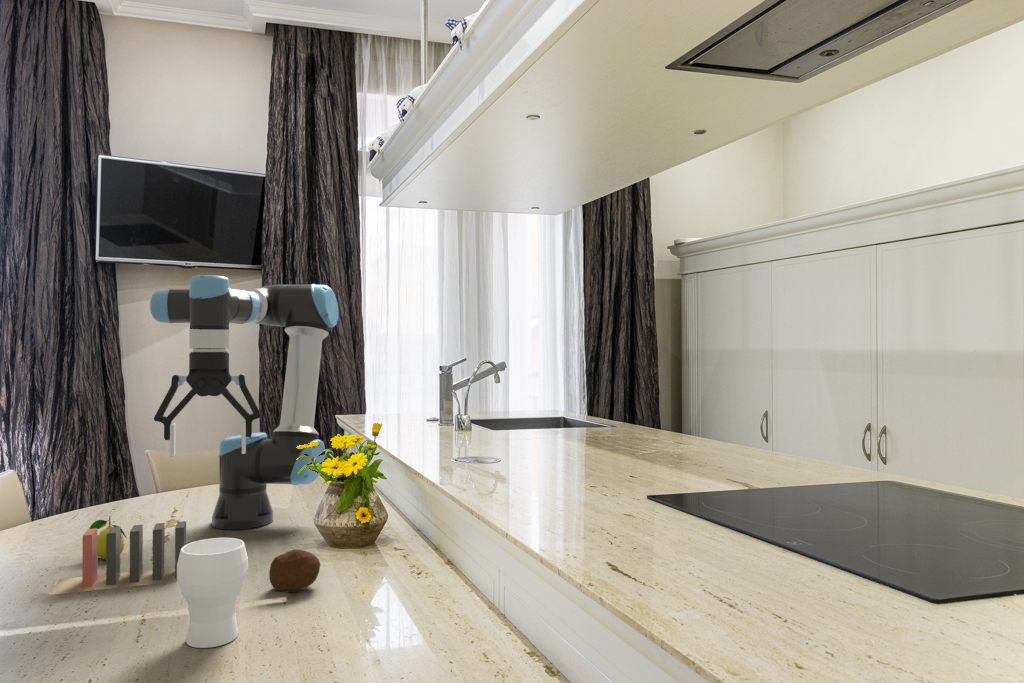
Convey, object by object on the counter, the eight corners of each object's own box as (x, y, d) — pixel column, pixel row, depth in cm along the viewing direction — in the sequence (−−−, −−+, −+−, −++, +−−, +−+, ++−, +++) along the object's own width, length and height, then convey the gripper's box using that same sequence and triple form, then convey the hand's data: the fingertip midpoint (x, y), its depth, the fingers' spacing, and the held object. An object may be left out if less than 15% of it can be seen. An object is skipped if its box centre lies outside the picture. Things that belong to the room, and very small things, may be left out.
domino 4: (164, 571, 143) (164, 522, 143) (161, 579, 138) (161, 529, 138) (155, 572, 142) (155, 523, 142) (152, 580, 137) (152, 529, 137)
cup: (191, 625, 118) (191, 537, 118) (255, 623, 119) (255, 536, 119) (165, 653, 107) (165, 556, 107) (236, 651, 108) (236, 555, 108)
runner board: (203, 568, 147) (203, 564, 147) (200, 582, 139) (200, 578, 139) (60, 583, 138) (60, 579, 138) (47, 599, 129) (47, 594, 129)
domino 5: (185, 569, 144) (186, 521, 144) (183, 577, 139) (184, 527, 139) (177, 570, 144) (177, 521, 143) (174, 578, 139) (175, 528, 139)
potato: (262, 593, 133) (262, 551, 133) (305, 579, 141) (305, 540, 141) (285, 602, 129) (285, 559, 129) (328, 587, 137) (328, 547, 137)
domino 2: (120, 576, 140) (120, 526, 140) (115, 584, 135) (115, 532, 135) (111, 577, 139) (111, 527, 139) (106, 585, 135) (106, 533, 135)
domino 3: (142, 573, 141) (142, 524, 141) (138, 581, 137) (139, 531, 137) (133, 574, 141) (133, 525, 141) (129, 582, 136) (129, 531, 136)
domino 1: (97, 578, 138) (97, 528, 138) (92, 586, 134) (92, 534, 134) (88, 579, 138) (88, 528, 138) (82, 587, 133) (82, 535, 133)
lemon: (88, 561, 151) (88, 515, 151) (117, 555, 155) (118, 511, 155) (98, 568, 147) (98, 521, 146) (128, 562, 151) (128, 516, 151)
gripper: (272, 350, 151) (272, 448, 151) (144, 350, 142) (144, 454, 143) (273, 351, 144) (272, 454, 144) (138, 351, 135) (138, 460, 135)
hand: (208, 454), depth 143 cm, fingers open, 13 cm apart
